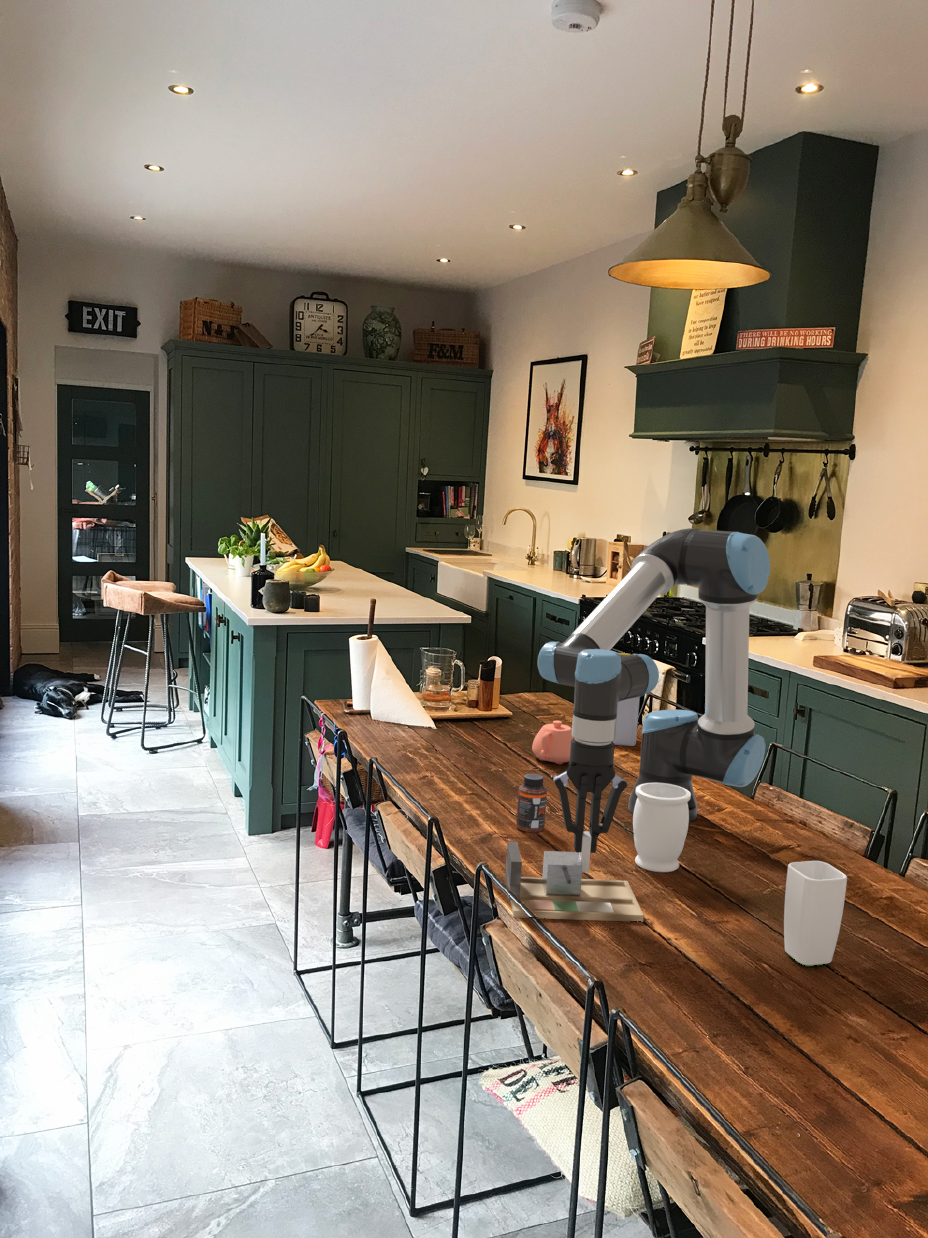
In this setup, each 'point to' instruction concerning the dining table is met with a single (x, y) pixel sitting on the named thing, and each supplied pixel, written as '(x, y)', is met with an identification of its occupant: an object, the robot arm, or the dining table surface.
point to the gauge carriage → (562, 874)
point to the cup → (813, 911)
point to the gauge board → (593, 904)
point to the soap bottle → (627, 720)
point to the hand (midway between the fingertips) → (583, 869)
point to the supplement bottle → (531, 804)
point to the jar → (660, 825)
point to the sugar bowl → (553, 743)
